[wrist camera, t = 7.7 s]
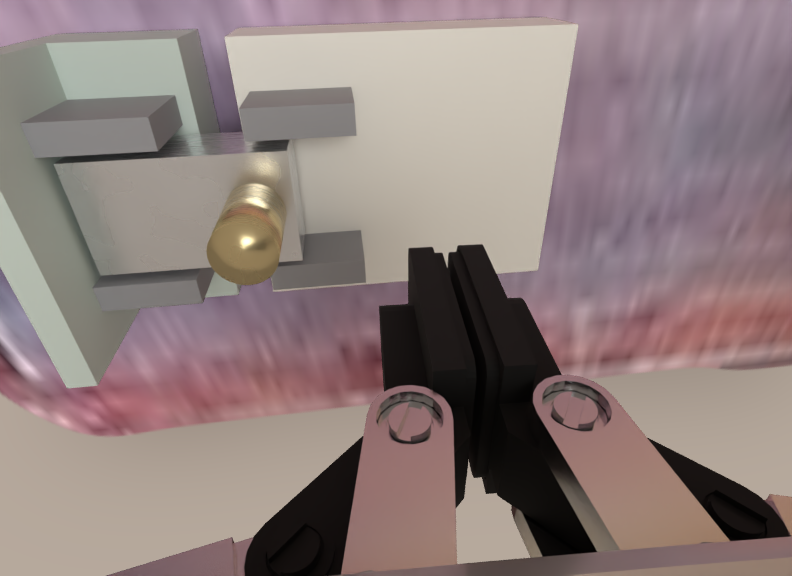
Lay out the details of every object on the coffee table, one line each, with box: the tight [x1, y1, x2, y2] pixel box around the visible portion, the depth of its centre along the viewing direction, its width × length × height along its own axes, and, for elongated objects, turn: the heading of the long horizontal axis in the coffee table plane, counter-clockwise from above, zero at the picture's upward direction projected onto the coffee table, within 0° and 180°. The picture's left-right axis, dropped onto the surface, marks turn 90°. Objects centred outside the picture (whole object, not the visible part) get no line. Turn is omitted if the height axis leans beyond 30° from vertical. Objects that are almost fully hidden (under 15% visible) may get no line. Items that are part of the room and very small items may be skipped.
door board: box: [224, 17, 578, 292], centre depth 19 cm, size 12×10×6 cm
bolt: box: [54, 132, 305, 285], centre depth 16 cm, size 7×4×6 cm, turn 91°
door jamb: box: [0, 29, 241, 388], centre depth 17 cm, size 5×10×8 cm, turn 1°
